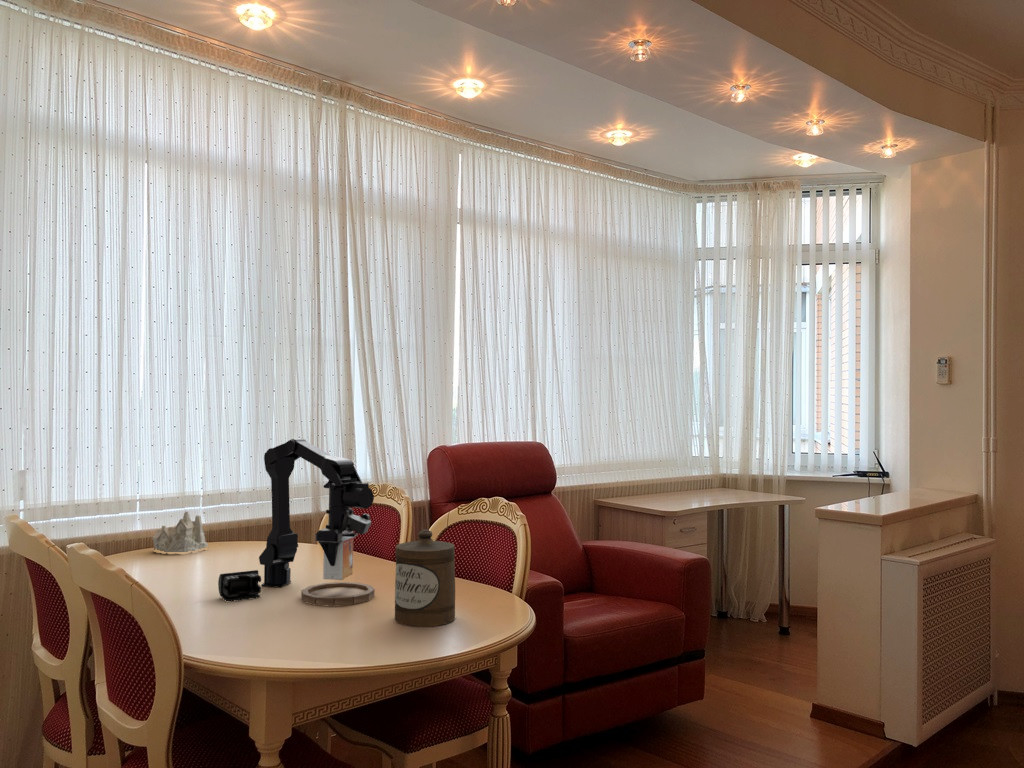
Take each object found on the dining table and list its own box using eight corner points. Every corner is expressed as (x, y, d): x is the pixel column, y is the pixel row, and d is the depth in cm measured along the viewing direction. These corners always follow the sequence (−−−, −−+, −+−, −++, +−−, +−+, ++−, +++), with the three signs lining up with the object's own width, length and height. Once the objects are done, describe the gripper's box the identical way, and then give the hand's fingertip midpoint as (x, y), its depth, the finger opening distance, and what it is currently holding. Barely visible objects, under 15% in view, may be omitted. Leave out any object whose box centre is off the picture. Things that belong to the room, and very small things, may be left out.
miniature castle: (215, 548, 293) (212, 506, 293) (180, 558, 278) (178, 514, 278) (182, 547, 299) (179, 506, 299) (146, 557, 284) (144, 514, 284)
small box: (342, 580, 218) (343, 541, 218) (322, 579, 219) (323, 540, 219) (353, 574, 226) (354, 536, 226) (334, 573, 227) (334, 535, 227)
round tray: (290, 603, 214) (290, 596, 214) (318, 587, 233) (318, 580, 233) (359, 607, 211) (359, 599, 211) (382, 590, 230) (382, 583, 230)
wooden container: (382, 621, 198) (383, 530, 199) (419, 608, 211) (420, 523, 212) (430, 630, 191) (431, 536, 191) (466, 617, 203) (467, 528, 204)
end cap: (254, 592, 227) (255, 568, 227) (262, 597, 221) (262, 572, 221) (217, 597, 221) (218, 572, 222) (224, 602, 215) (225, 576, 216)
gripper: (355, 511, 212) (354, 571, 212) (378, 502, 231) (377, 557, 230) (315, 509, 214) (314, 569, 214) (341, 501, 232) (339, 555, 232)
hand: (338, 562), depth 222 cm, fingers closed on small box, 8 cm apart
